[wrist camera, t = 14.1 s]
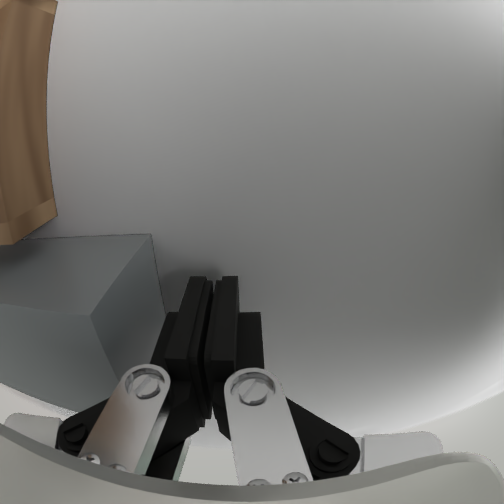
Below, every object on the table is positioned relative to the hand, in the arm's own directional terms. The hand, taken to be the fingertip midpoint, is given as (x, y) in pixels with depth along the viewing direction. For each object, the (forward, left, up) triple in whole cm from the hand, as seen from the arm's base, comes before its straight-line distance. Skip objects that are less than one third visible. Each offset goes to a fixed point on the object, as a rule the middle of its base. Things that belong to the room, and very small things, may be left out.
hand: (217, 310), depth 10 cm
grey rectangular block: (+7, 0, -1) cm, 7 cm away
